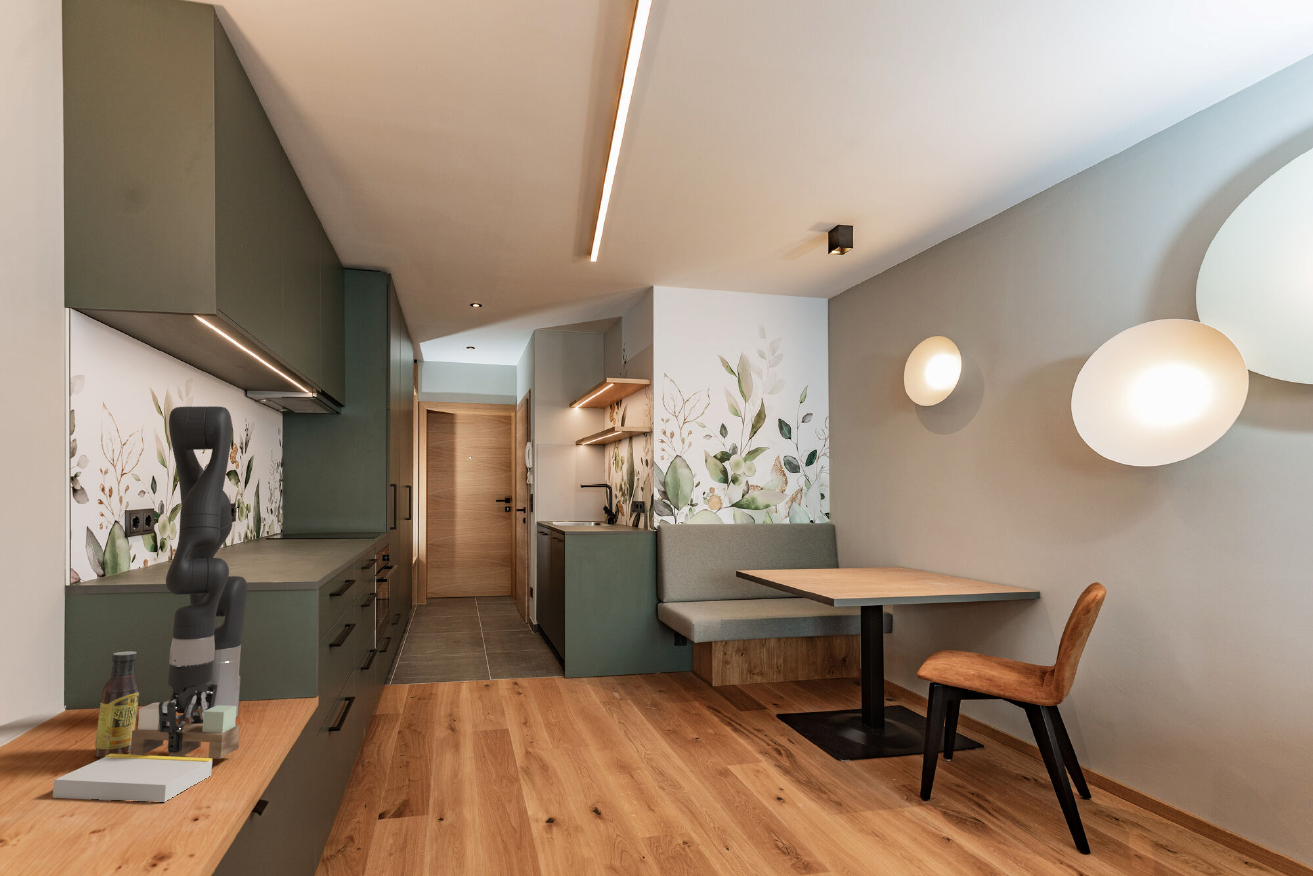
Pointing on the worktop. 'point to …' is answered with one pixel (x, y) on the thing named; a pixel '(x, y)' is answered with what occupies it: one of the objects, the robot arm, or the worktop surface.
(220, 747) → the pallet
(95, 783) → the block
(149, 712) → the white crate
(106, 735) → the sauce bottle
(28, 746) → the worktop surface
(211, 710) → the block
